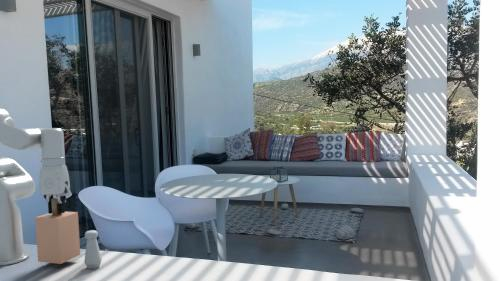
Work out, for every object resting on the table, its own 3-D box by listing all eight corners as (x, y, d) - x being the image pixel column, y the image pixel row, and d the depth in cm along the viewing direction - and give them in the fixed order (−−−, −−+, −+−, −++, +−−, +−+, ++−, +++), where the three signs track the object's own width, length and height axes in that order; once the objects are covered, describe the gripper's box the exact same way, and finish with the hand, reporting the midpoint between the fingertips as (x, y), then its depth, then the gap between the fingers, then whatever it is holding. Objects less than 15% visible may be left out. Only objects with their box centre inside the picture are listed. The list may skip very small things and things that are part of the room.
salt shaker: (96, 270, 152) (93, 233, 151) (81, 269, 153) (78, 233, 152) (105, 264, 157) (102, 228, 157) (90, 264, 159) (88, 228, 158)
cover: (38, 261, 156) (34, 200, 155) (58, 252, 166) (54, 195, 164) (60, 263, 153) (57, 201, 152) (80, 254, 163) (76, 196, 161)
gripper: (27, 163, 156) (30, 214, 157) (65, 164, 151) (68, 216, 152) (43, 161, 163) (46, 209, 165) (79, 161, 158) (82, 211, 159)
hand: (56, 212), depth 158 cm, fingers closed on cover, 3 cm apart
